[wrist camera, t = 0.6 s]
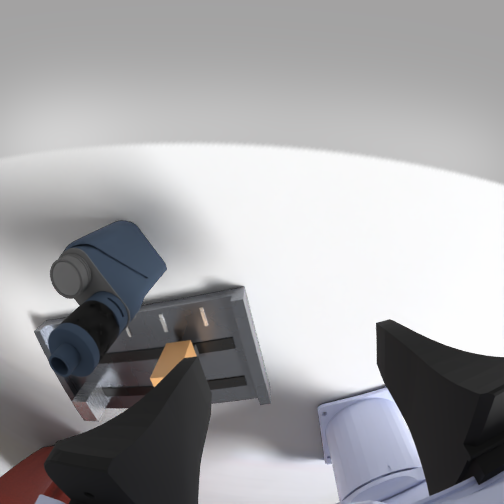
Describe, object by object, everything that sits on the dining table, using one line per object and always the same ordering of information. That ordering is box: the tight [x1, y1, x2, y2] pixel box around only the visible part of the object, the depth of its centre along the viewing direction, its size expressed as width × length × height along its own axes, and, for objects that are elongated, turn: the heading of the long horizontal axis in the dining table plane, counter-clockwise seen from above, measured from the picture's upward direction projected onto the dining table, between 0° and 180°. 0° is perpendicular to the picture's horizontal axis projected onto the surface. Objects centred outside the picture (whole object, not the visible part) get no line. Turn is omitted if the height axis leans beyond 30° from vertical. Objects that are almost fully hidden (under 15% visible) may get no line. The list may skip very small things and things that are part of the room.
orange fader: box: [150, 340, 199, 387], centre depth 19 cm, size 3×2×5 cm
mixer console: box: [34, 287, 271, 421], centre depth 21 cm, size 9×18×4 cm, turn 103°
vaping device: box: [48, 221, 167, 377], centre depth 15 cm, size 3×5×12 cm, turn 35°
